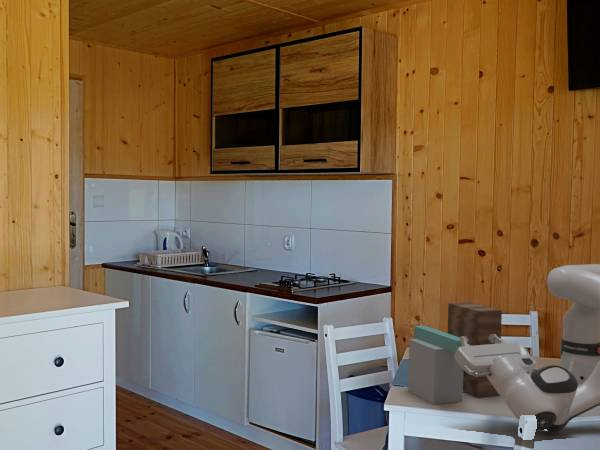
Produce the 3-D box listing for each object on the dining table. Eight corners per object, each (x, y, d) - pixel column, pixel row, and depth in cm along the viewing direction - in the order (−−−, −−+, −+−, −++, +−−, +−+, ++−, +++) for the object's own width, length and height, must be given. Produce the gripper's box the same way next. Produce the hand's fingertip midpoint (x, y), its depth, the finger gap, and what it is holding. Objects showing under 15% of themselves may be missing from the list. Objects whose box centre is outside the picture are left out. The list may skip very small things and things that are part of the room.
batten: (467, 352, 178) (467, 340, 178) (456, 353, 177) (457, 340, 177) (423, 336, 199) (423, 325, 198) (414, 337, 197) (414, 326, 197)
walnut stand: (499, 395, 192) (501, 310, 191) (477, 398, 189) (479, 311, 188) (466, 381, 206) (469, 302, 206) (446, 383, 204) (448, 303, 203)
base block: (462, 400, 186) (464, 347, 185) (433, 404, 182) (435, 349, 181) (435, 387, 199) (437, 337, 198) (408, 390, 195) (409, 339, 194)
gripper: (467, 386, 158) (440, 348, 169) (532, 379, 166) (502, 343, 177) (475, 367, 155) (448, 330, 166) (541, 361, 163) (511, 325, 173)
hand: (476, 336), depth 171 cm, fingers open, 8 cm apart
